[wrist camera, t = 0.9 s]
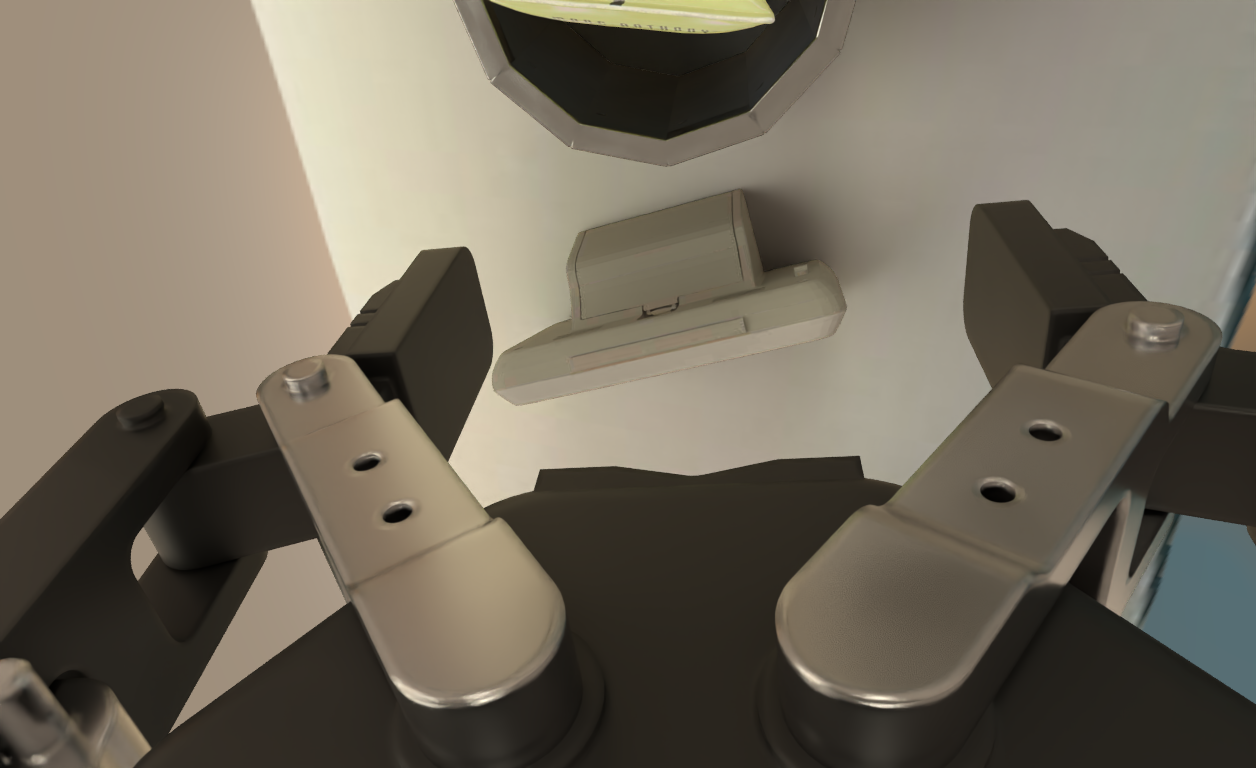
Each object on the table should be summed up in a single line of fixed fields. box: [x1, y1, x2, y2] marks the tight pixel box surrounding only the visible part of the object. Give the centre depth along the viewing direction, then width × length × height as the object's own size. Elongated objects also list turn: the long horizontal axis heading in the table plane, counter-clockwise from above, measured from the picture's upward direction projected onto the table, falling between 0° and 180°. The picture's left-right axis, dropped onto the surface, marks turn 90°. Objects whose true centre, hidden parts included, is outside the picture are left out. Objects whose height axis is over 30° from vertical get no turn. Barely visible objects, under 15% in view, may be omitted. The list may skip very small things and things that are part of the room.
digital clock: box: [492, 189, 847, 406], centre depth 41 cm, size 16×9×11 cm, turn 96°
